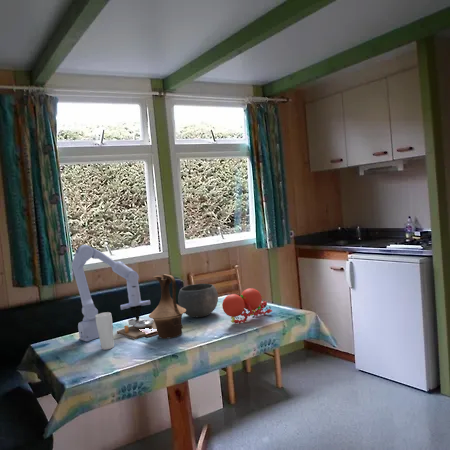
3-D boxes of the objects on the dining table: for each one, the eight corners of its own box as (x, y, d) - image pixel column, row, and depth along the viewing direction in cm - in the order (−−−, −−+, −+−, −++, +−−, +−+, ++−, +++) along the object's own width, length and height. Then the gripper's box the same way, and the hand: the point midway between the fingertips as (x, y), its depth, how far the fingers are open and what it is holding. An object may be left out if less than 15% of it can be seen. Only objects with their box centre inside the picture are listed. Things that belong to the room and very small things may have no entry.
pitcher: (197, 331, 208) (189, 270, 206) (168, 343, 196) (160, 279, 194) (172, 327, 220) (164, 269, 218) (143, 338, 208) (135, 277, 206)
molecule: (240, 329, 203) (228, 296, 204) (225, 331, 212) (215, 299, 213) (278, 311, 219) (267, 280, 220) (263, 313, 227) (253, 284, 229)
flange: (157, 324, 221) (156, 319, 221) (141, 330, 214) (141, 325, 214) (138, 321, 231) (137, 316, 231) (123, 326, 225) (122, 321, 224)
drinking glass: (107, 351, 196) (102, 317, 194) (96, 350, 199) (91, 316, 198) (119, 345, 201) (114, 312, 200) (108, 344, 205) (103, 311, 204)
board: (135, 339, 208) (134, 334, 208) (116, 333, 220) (116, 329, 220) (171, 326, 221) (170, 322, 221) (152, 321, 234) (151, 317, 234)
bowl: (205, 322, 221) (201, 292, 220) (172, 320, 232) (168, 291, 231) (227, 310, 238) (223, 282, 237) (195, 309, 249) (191, 282, 248)
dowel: (126, 333, 215) (125, 326, 215) (124, 332, 216) (123, 326, 216) (129, 332, 216) (128, 325, 216) (127, 331, 218) (126, 325, 217)
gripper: (147, 290, 233) (151, 316, 234) (118, 295, 229) (122, 321, 230) (149, 292, 226) (153, 319, 227) (119, 298, 222) (123, 325, 223)
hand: (137, 321), depth 228 cm, fingers closed
